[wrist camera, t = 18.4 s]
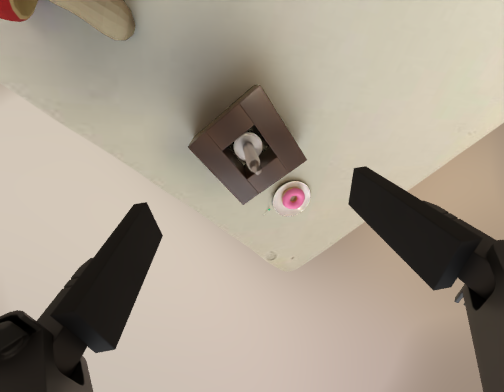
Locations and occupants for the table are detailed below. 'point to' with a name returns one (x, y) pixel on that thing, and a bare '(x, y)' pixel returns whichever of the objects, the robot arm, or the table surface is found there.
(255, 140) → the screw
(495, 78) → the table surface
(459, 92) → the table surface
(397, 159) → the table surface
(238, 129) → the holder
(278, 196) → the donut
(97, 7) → the decorative mushroom
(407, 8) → the table surface
